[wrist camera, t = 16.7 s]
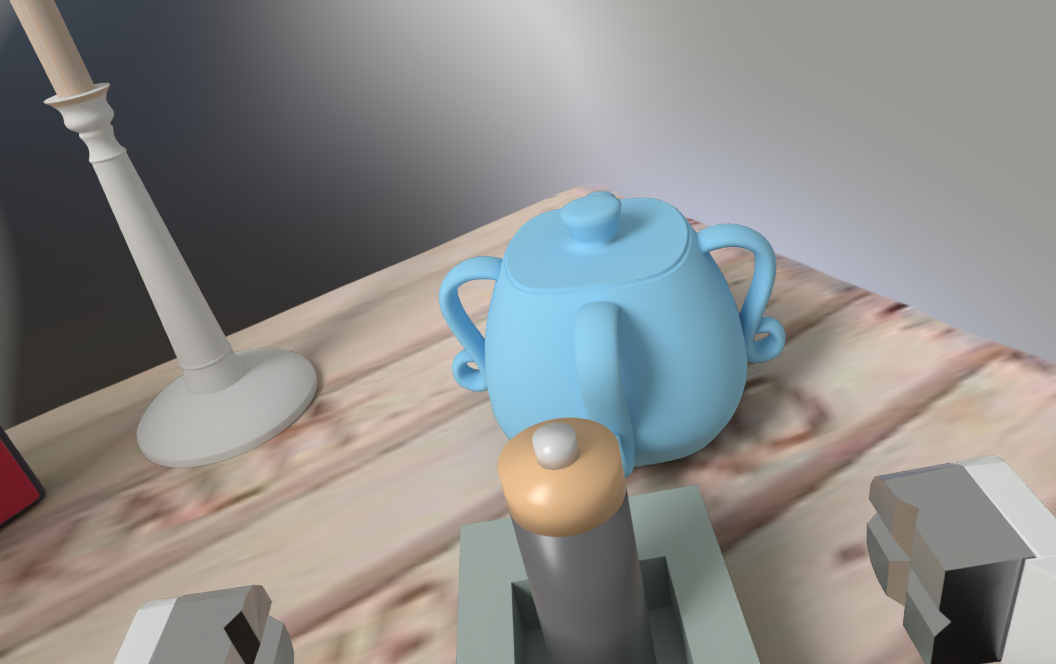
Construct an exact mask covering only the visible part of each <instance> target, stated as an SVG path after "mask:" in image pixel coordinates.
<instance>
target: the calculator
mask: <svg viewBox="0 0 1056 664" xmlns="http://www.w3.org/2000/svg"><path fill="white" fill-rule="evenodd" d="M44 496H45V489H44V487H43V486H42V485H41V483H40V482H39V480H38V479H37V477H36V476H35V474H34V473H33V472H32V470H31V469H30V467H29V466H28V464H27V463H26V462H25V460H24V459H23V457H22V456H21V454H20V453H19V451H18V450H17V449H16V447H15V446H14V444H13V443H12V441H11V440H10V439H9V437H8V436H7V434H6V433H5V431H4V430H3V428H2V427H1V426H0V527H1V526H3V525H4V524H6V523H7V522H9V521H10V520H12V519H13V518H14V517H16V516H17V515H19V514H20V513H22V512H23V511H25V510H26V509H28V508H29V507H31V506H32V505H34V504H35V503H36V502H38V501H39V500H41V499H42V498H43V497H44Z"/></svg>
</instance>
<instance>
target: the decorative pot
mask: <svg viewBox="0 0 1056 664" xmlns="http://www.w3.org/2000/svg"><path fill="white" fill-rule="evenodd" d="M724 247H741V248H746V249H748V250H750V251H752V252H753V253H754V255H755V270H754V275H753V279H752V283H751V286H750V288H749V291H748V294H747V296H746V299H745V301H744V304H743V307H742V309H741V312H740V315H739V313H738V310H737V306H736V304H735V301H734V298H733V296H732V294H731V291H730V289H729V286H728V284H727V282H726V280H725V278H724V276H723V274H722V273H721V271H720V269H719V267H718V265H717V264H716V262H715V261H714V259H713V258H712V256H711V255H710V253H709V252H710V251H713V250H716V249H720V248H724ZM775 276H776V257H775V254H774V251H773V248H772V246H771V245H770V243H769V242H768V241H767V240H766V238H765V237H763V236H762V235H761V234H760V233H758V232H757V231H755V230H753V229H751V228H748V227H746V226H742V225H738V224H719V225H715V226H711V227H708V228H706V229H703V230H701V231H699V232H698V233H696V232H695V230H694V229H693V228H692V226H691V225H690V224H689V222H688V221H687V220H686V218H685V217H684V216H683V214H682V213H681V212H680V211H679V210H678V209H676V208H675V207H673V206H672V205H670V204H668V203H666V202H664V201H661V200H658V199H652V198H632V199H618V198H616V197H615V195H614V194H612V193H610V192H605V191H599V192H593V193H590V194H588V195H586V196H585V197H582V198H579V199H576V200H574V201H572V202H569V203H568V204H566V205H565V206H563V207H562V208H561V209H557V210H552V211H549V212H545V213H543V214H540V215H538V216H536V217H534V218H533V219H531V220H529V221H528V222H527V223H525V224H524V225H523V226H522V227H521V228H520V229H519V230H518V232H517V233H516V234H515V235H514V237H513V238H512V240H511V241H510V243H509V245H508V247H507V249H506V252H505V255H504V257H503V259H500V258H497V257H490V256H479V257H474V258H470V259H468V260H465V261H463V262H461V263H460V264H458V265H457V266H455V267H454V268H453V269H452V270H451V271H450V272H449V273H448V274H447V275H446V277H445V278H444V280H443V282H442V284H441V287H440V291H439V304H440V308H441V312H442V314H443V316H444V318H445V320H446V322H447V324H448V326H449V327H450V329H451V330H452V332H453V333H454V335H455V336H456V338H457V339H458V340H459V342H460V343H461V344H462V346H463V347H464V348H465V349H464V350H462V351H460V352H459V353H458V354H457V355H456V357H455V358H454V361H453V365H452V370H453V375H454V379H455V380H456V381H457V383H458V384H459V385H460V386H462V387H463V388H465V389H468V390H471V391H476V392H481V391H486V390H488V392H489V397H490V401H491V406H492V410H493V412H494V415H495V418H496V420H497V422H498V423H499V425H500V427H501V428H502V430H503V432H504V433H505V435H506V436H507V437H508V438H509V439H510V440H511V439H512V438H513V437H514V436H516V435H517V434H518V433H520V432H521V431H523V430H525V429H526V428H528V427H530V426H532V425H535V424H538V423H540V422H544V421H547V420H551V419H557V418H569V417H571V418H584V419H588V420H592V421H595V422H598V423H600V424H602V425H604V426H605V427H607V428H608V429H609V430H610V431H612V433H613V434H614V435H615V436H616V438H617V440H618V443H619V447H620V453H621V459H622V465H623V470H624V476H625V478H627V477H628V476H629V475H630V474H631V473H632V471H633V468H634V467H636V466H644V465H650V464H657V463H663V462H667V461H672V460H676V459H680V458H683V457H686V456H688V455H691V454H694V453H695V452H697V451H699V450H701V449H702V448H704V447H705V446H706V445H707V444H709V443H710V442H711V441H712V440H713V439H714V438H715V437H716V436H717V435H718V434H719V433H720V432H721V430H722V429H723V428H724V427H725V426H726V424H727V423H728V422H729V421H730V419H731V418H732V416H733V415H734V413H735V411H736V409H737V407H738V405H739V403H740V400H741V397H742V393H743V390H744V387H745V383H746V377H747V361H749V362H752V363H763V362H767V361H769V360H772V359H773V358H775V357H777V356H778V355H779V354H780V353H781V352H782V350H783V348H784V345H785V338H786V335H785V331H784V328H783V326H782V325H781V323H780V322H779V321H778V320H776V319H774V318H772V317H762V315H763V313H764V310H765V308H766V305H767V303H768V300H769V297H770V295H771V292H772V288H773V285H774V281H775ZM476 279H491V280H496V283H495V287H494V291H493V295H492V299H491V303H490V308H489V313H488V319H487V325H486V335H485V339H484V338H483V336H482V335H481V333H480V332H479V331H478V329H477V328H476V327H475V325H474V324H473V323H472V321H471V320H470V318H469V317H468V315H467V314H466V312H465V310H464V308H463V306H462V304H461V302H460V300H459V297H458V292H457V288H458V287H459V286H460V285H462V284H463V283H465V282H468V281H471V280H476ZM765 332H767V333H770V335H769V336H768V337H766V338H764V339H762V340H759V341H754V336H755V334H759V333H765ZM468 362H475V363H476V365H477V366H478V368H479V370H476V369H473V368H471V367H469V366H468V365H467V364H466V363H468Z"/></svg>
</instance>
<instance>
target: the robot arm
mask: <svg viewBox="0 0 1056 664" xmlns="http://www.w3.org/2000/svg"><path fill="white" fill-rule="evenodd" d="M869 500H870V501H871V503H872V504H873V506H874V508H875V509H876V511H877V513H876V514H875V515H874V516H873V517H872V519H871V520H870V521H869V522H868V523H867V546H868V551H869V556H870V561H871V564H872V567H873V569H874V572H875V574H876V577H877V579H878V581H879V583H880V585H881V586H882V588H883V590H884V592H885V594H886V595H887V596H889V597H890V598H892V599H893V600H895V601H897V602H898V603H900V604H902V605H903V606H905V610H904V619H903V626H904V627H905V629H906V631H907V633H908V634H909V636H910V638H911V640H912V641H913V643H914V645H915V647H916V648H917V650H918V652H919V654H920V655H921V657H922V659H923V661H924V662H925V664H986V663H993V662H1000V661H1001V664H1056V517H1055V516H1054V515H1053V514H1052V513H1051V512H1050V511H1049V510H1048V509H1047V507H1046V506H1045V505H1044V504H1043V503H1042V502H1041V501H1040V500H1039V499H1038V498H1037V496H1036V495H1035V494H1034V493H1033V492H1032V491H1031V490H1030V489H1029V488H1028V486H1027V485H1026V484H1025V483H1024V482H1023V481H1022V480H1021V479H1020V478H1019V477H1018V475H1017V474H1016V473H1015V472H1014V471H1013V470H1012V469H1011V468H1010V467H1009V466H1008V464H1007V463H1006V462H1005V461H1004V460H1003V459H1001V458H999V457H997V456H995V455H991V456H985V457H980V458H974V459H969V460H963V461H957V462H954V463H946V464H940V465H935V466H929V467H924V468H918V469H913V470H908V471H902V472H897V473H891V474H886V475H881V476H875V477H874V479H873V481H872V482H871V484H870V494H869ZM271 603H272V601H271V599H270V598H269V596H268V594H267V593H266V591H265V590H264V588H263V586H260V585H251V586H244V587H237V588H231V589H224V590H217V591H210V592H203V593H197V594H190V595H183V596H180V597H174V598H167V599H160V600H154V601H147V602H146V603H145V604H144V605H143V606H142V607H141V608H140V609H139V610H138V611H137V613H136V615H135V617H134V619H133V621H132V623H131V626H130V628H129V630H128V632H127V634H126V637H125V639H124V641H123V643H122V645H121V647H120V650H119V652H118V654H117V656H116V658H115V661H114V663H113V664H294V650H293V647H292V643H291V639H290V635H289V633H288V631H287V629H286V627H285V625H284V623H282V622H280V621H278V620H276V619H275V618H273V617H271V616H269V615H268V614H269V611H270V607H271Z"/></svg>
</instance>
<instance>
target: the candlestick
mask: <svg viewBox="0 0 1056 664" xmlns="http://www.w3.org/2000/svg"><path fill="white" fill-rule="evenodd" d="M10 2H11V4H12V5H13V8H14V9H15V12H16V14H17V16H18V17H19V20H20V22H21V24H22V25H23V28H24V29H25V31H26V33H27V35H28V37H29V39H30V41H31V43H32V45H33V47H34V49H35V51H36V53H37V55H38V57H39V59H40V61H41V63H42V65H43V67H44V69H45V71H46V73H47V75H48V77H49V79H50V81H51V83H52V85H53V87H54V89H55V91H56V93H57V95H55V96H53V97H51V98H49V99H47V100H45V101H44V103H45V104H48V105H51V106H53V107H54V108H56V109H57V110H59V111H60V112H61V114H62V115H63V118H64V123H65V125H66V126H67V127H68V128H69V129H71V130H73V131H76V132H79V136H80V138H81V139H82V140H84V142H85V143H86V144H87V146H88V148H89V152H90V158H89V162H91V163H92V165H93V167H94V169H95V171H96V173H97V176H98V178H99V181H100V183H101V185H102V187H103V190H104V192H105V194H106V196H107V199H108V201H109V203H110V205H111V208H112V210H113V212H114V215H115V217H116V219H117V221H118V224H119V226H120V228H121V231H122V233H123V235H124V237H125V239H126V242H127V244H128V246H129V249H130V251H131V253H132V256H133V258H134V260H135V262H136V265H137V267H138V269H139V271H140V274H141V276H142V278H143V280H144V283H145V285H146V287H147V290H148V292H149V294H150V296H151V299H152V301H153V303H154V305H155V308H156V310H157V312H158V314H159V317H160V319H161V322H162V324H163V326H164V328H165V331H166V333H167V335H168V337H169V340H170V342H171V344H172V347H173V349H174V351H175V353H176V356H177V359H178V361H179V365H180V367H181V368H182V369H183V372H184V374H183V375H182V376H180V377H179V378H177V379H176V380H174V381H173V382H172V383H171V384H169V385H168V386H167V387H166V388H165V389H164V390H163V391H161V393H160V394H159V395H158V396H157V397H156V398H155V399H154V400H153V401H152V403H151V404H150V405H149V407H148V408H147V410H146V411H145V413H144V414H143V416H142V418H141V420H140V422H139V425H138V428H137V434H136V437H137V443H138V446H139V448H140V449H141V451H142V453H143V454H144V456H145V457H146V458H147V459H149V460H150V461H152V462H153V463H156V464H158V465H161V466H166V467H173V468H190V467H198V466H204V465H209V464H213V463H217V462H221V461H224V460H227V459H230V458H233V457H236V456H238V455H241V454H243V453H245V452H248V451H250V450H252V449H254V448H256V447H258V446H260V445H262V444H263V443H265V442H267V441H269V440H270V439H272V438H273V437H275V436H276V435H278V434H279V433H281V432H282V431H284V430H285V429H286V428H287V427H288V426H290V425H291V424H292V423H293V422H294V421H295V420H296V419H297V418H299V417H300V415H301V414H302V413H303V412H304V411H305V410H306V408H307V407H308V406H309V404H310V403H311V401H312V399H313V398H314V395H315V393H316V390H317V385H318V379H317V374H316V372H315V369H314V367H313V365H312V364H311V363H310V361H309V360H308V359H307V358H305V357H304V356H302V355H300V354H297V353H294V352H291V351H287V350H281V349H272V348H259V349H249V350H243V351H238V352H234V351H233V350H232V349H231V344H230V343H229V342H228V340H227V339H226V337H225V335H224V333H223V332H222V330H221V328H220V326H219V325H218V323H217V321H216V319H215V317H214V315H213V313H212V312H211V310H210V308H209V306H208V304H207V302H206V300H205V299H204V297H203V295H202V293H201V291H200V289H199V287H198V285H197V284H196V282H195V280H194V278H193V276H192V274H191V272H190V271H189V269H188V267H187V265H186V263H185V261H184V260H183V258H182V256H181V254H180V252H179V250H178V248H177V246H176V245H175V243H174V241H173V239H172V237H171V236H170V234H169V232H168V230H167V228H166V226H165V224H164V222H163V220H162V219H161V217H160V215H159V213H158V211H157V209H156V207H155V206H154V204H153V202H152V200H151V198H150V196H149V194H148V193H147V191H146V189H145V187H144V185H143V183H142V181H141V180H140V178H139V176H138V174H137V172H136V170H135V168H134V167H133V165H132V163H131V161H130V159H129V157H128V155H127V154H126V149H125V148H123V147H122V146H121V145H120V144H119V143H118V142H117V141H116V139H115V137H114V134H113V127H112V125H110V122H111V120H112V118H113V116H114V115H113V114H114V112H113V110H112V108H111V107H110V106H109V105H108V103H107V101H106V93H107V90H108V88H109V86H110V83H100V84H93V82H92V80H91V78H90V76H89V74H88V72H87V69H86V67H85V65H84V63H83V61H82V59H81V57H80V55H79V52H78V51H77V48H76V46H75V44H74V42H73V40H72V38H71V36H70V34H69V31H68V29H67V27H66V25H65V23H64V21H63V19H62V17H61V15H60V13H59V10H58V8H57V6H56V4H55V2H54V0H10Z"/></svg>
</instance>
